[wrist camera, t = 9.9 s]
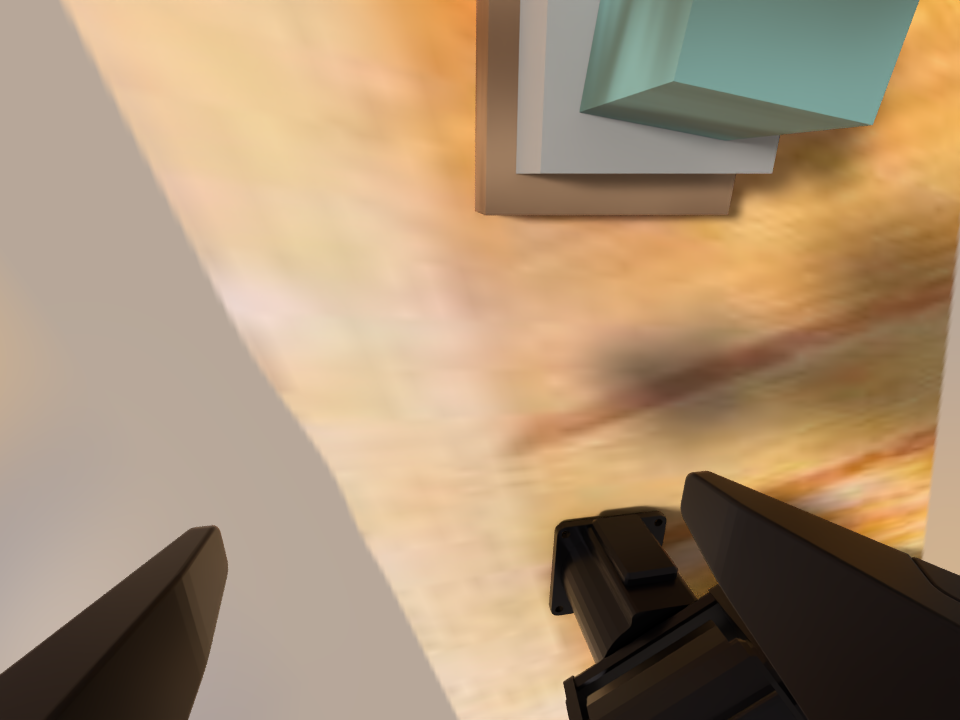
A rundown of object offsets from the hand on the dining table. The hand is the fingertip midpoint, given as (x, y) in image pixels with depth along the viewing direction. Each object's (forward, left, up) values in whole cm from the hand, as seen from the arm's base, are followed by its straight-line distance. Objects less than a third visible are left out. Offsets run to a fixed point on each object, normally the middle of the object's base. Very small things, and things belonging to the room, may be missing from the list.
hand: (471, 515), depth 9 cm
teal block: (+10, -7, -8) cm, 15 cm away
